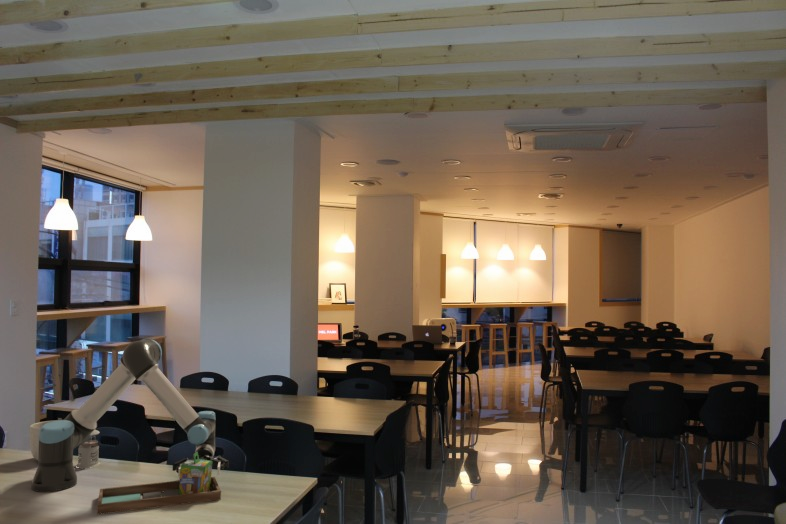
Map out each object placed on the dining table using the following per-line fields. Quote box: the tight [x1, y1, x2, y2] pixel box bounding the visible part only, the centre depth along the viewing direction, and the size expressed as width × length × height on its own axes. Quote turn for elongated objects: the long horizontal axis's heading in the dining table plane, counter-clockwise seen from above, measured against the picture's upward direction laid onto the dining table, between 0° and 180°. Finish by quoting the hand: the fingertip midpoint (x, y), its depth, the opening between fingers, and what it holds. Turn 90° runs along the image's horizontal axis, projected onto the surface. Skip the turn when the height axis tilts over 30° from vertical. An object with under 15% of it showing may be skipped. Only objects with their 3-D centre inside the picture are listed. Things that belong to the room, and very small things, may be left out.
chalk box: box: [179, 452, 213, 495], centre depth 220 cm, size 9×9×15 cm
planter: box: [29, 419, 58, 461], centre depth 265 cm, size 17×17×15 cm
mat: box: [102, 493, 142, 504], centre depth 211 cm, size 14×12×1 cm
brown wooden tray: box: [96, 476, 222, 515], centre depth 216 cm, size 18×40×3 cm, turn 113°
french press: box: [75, 429, 101, 469], centre depth 257 cm, size 10×12×25 cm
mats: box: [142, 489, 179, 499], centre depth 216 cm, size 14×13×1 cm
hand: (199, 471), depth 219 cm, fingers open, 13 cm apart
